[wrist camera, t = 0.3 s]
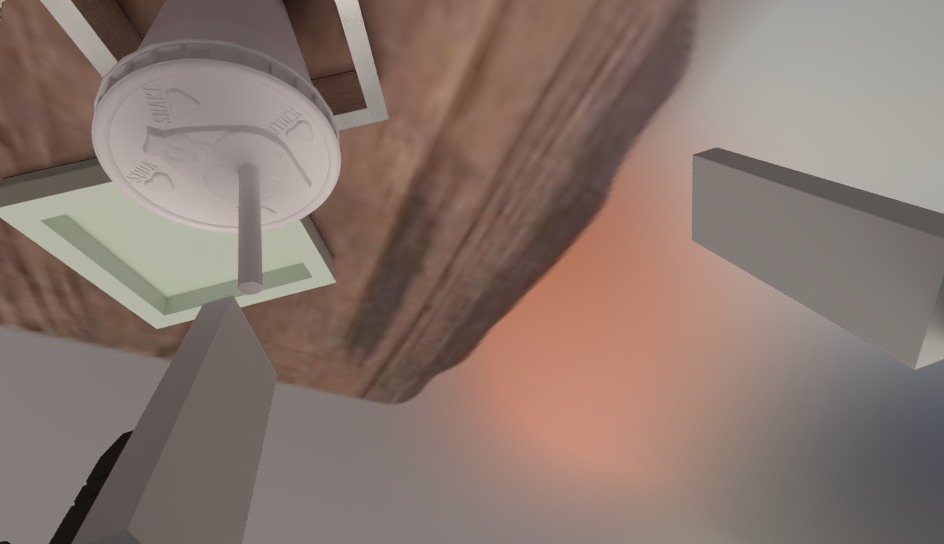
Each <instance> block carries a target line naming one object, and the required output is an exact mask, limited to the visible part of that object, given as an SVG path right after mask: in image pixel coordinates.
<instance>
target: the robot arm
mask: <svg viewBox="0 0 944 544" xmlns="http://www.w3.org/2000/svg"><path fill="white" fill-rule="evenodd" d="M692 196H693V198H692V200H693V201H692V240H693V241H695V242H696V243H698V244H700V245H702V246H703V247H705V248H707V249H708V250H710V251H712V252H713V253H715V254H717V255H719V256H720V257H722V258H724V259H725V260H727V261H729V262H731V263H732V264H734V265H736V266H738V267H739V268H741V269H743V270H744V271H746V272H748V273H750V274H751V275H753V276H755V277H756V278H758V279H760V280H762V281H763V282H765V283H767V284H768V285H770V286H772V287H774V288H775V289H777V290H779V291H780V292H782V293H784V294H786V295H787V296H789V297H791V298H793V299H794V300H796V301H798V302H799V303H801V304H803V305H804V306H806V307H808V308H810V309H811V310H813V311H815V312H817V313H818V314H820V315H822V316H824V317H825V318H827V319H828V320H830V321H832V322H834V323H835V324H837V325H839V326H840V327H842V328H844V329H846V330H847V331H849V332H851V333H852V334H854V335H856V336H858V337H859V338H861V339H863V340H864V341H866V342H868V343H870V344H871V345H873V346H875V347H877V348H878V349H880V350H882V351H883V352H885V353H887V354H888V355H890V356H892V357H894V358H895V359H897V360H899V361H900V362H902V363H904V364H906V365H907V366H909V367H911V368H913V369H914V370H915V369H918V368H921V367H923V366H926V365H929V364H931V363H934V362H936V361H939V360H942V359H944V214H942V213H939V212H936V211H932V210H928V209H925V208H922V207H918V206H915V205H912V204H908V203H905V202H901V201H898V200H895V199H891V198H888V197H884V196H881V195H878V194H874V193H870V192H867V191H864V190H860V189H857V188H854V187H850V186H846V185H843V184H840V183H836V182H833V181H830V180H826V179H823V178H819V177H816V176H813V175H809V174H806V173H802V172H799V171H795V170H792V169H789V168H785V167H782V166H778V165H775V164H771V163H768V162H765V161H761V160H758V159H754V158H751V157H748V156H744V155H740V154H737V153H734V152H731V151H727V150H724V149H720V148H713V149H710V150H707V151H704V152H701V153H697V154H694V155H693V194H692ZM276 380H277V373H276V371H275V369H274V368H273V366H272V364H271V362H270V360H269V359H268V357H267V355H266V353H265V351H264V350H263V348H262V346H261V344H260V342H259V341H258V339H257V337H256V335H255V333H254V332H253V330H252V328H251V326H250V325H249V323H248V321H247V319H246V317H245V316H244V314H243V312H242V310H241V308H240V307H239V305H238V303H237V301H236V299H235V298H234V296H233V295H231V296H228V297H225V298H221V299H218V300H215V301H212V302H208V303H205V304H203V305H202V307H201V309H200V311H199V312H198V314H197V316H196V318H195V320H194V322H193V323H192V325H191V327H190V329H189V331H188V332H187V334H186V336H185V338H184V340H183V342H182V343H181V345H180V347H179V349H178V351H177V352H176V354H175V356H174V358H173V360H172V362H171V363H170V365H169V367H168V369H167V371H166V372H165V374H164V376H163V378H162V380H161V382H160V383H159V385H158V387H157V389H156V391H155V392H154V394H153V396H152V398H151V400H150V402H149V403H148V405H147V407H146V409H145V411H144V412H143V414H142V416H141V418H140V420H139V422H138V424H137V425H136V427H135V429H134V430H133V431H130V432H127V433H124V434H122V435H121V436H120V437H119V438H118V439H117V440H116V442H115V443H114V444H113V445H112V446H111V447H110V448H109V449H108V450H107V451H106V452H105V453H104V454H103V455H102V456H101V457H100V459H99V460H98V462H97V464H96V465H95V467H94V469H93V471H92V473H91V474H90V476H89V477H88V479H87V481H86V482H87V485H85V486H83V487H82V489H81V491H80V492H79V494H78V496H77V497H76V499H75V501H74V502H75V505H74V506H72V507H71V508H70V509H69V511H68V513H67V514H66V516H65V518H64V519H63V521H62V523H61V524H60V526H59V528H58V529H57V531H56V533H55V535H54V537H53V538H52V540H51V541H50V543H49V544H242V541H243V536H244V531H245V527H246V522H247V517H248V512H249V508H250V503H251V498H252V494H253V489H254V484H255V479H256V474H257V470H258V465H259V460H260V456H261V451H262V446H263V442H264V437H265V431H266V427H267V422H268V418H269V413H270V408H271V404H272V399H273V394H274V389H275V385H276ZM0 544H10V543H9V542H7V541H3V542H0Z"/></svg>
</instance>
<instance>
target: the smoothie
mask: <svg viewBox="0 0 944 544" xmlns="http://www.w3.org/2000/svg"><path fill="white" fill-rule="evenodd" d="M92 141H93V146H94V150H95V153H96V156H97V158H98V160H99V162H100V164H101V166H102V168H103V169H104V171H105V172H106V174H107V175H108V176H109V178H110V179H111V180H112V181H113V182H114V184H115V185H116V186H117V187H118V188H119V189H120V190H121V191H122V192H124V193H125V194H126V195H127V196H128V197H130V198H131V199H132V200H133V201H135V202H136V203H138V204H139V205H141V206H142V207H144V208H146V209H147V210H149V211H151V212H153V213H155V214H157V215H159V216H161V217H163V218H165V219H168V220H170V221H173V222H176V223H179V224H181V225H184V226H188V227H192V228H196V229H200V230H205V231H213V232H221V233H238V291H239V292H240V293H242V294H245V295H255V294H258V293H260V292H261V291H262V290H263V280H262V240H261V232H262V231H267V230H271V229H275V228H280V227H283V226H285V225H288V224H291V223H293V222H296V221H298V220H300V219H302V218H303V217H305V216H307V215H308V214H310V213H312V212H313V211H314V210H315V209H317V208H318V207H319V206H320V205H321V204H322V203H323V202H324V201H325V200H326V199H327V198H328V196H329V195H330V193H331V192H332V190H333V189H334V187H335V185H336V182H337V179H338V177H339V172H340V165H341V157H340V149H339V131H338V128H337V125H336V122H335V119H334V116H333V113H332V111H331V109H330V108H329V106H328V105H327V103H326V102H325V100H324V99H323V97H322V96H321V94H320V93H319V92H318V90H317V89H316V88H315V87H314V86H313V84H312V82H311V79H310V76H309V73H308V70H307V68H306V65H305V62H304V59H303V56H302V54H301V51H300V48H299V45H298V42H297V39H296V37H295V34H294V31H293V28H292V25H291V23H290V20H289V17H288V14H287V11H286V8H285V6H284V3H283V0H165V2H164V4H163V6H162V7H161V9H160V11H159V13H158V14H157V16H156V18H155V20H154V22H153V23H152V25H151V27H150V29H149V30H148V32H147V34H146V36H145V38H144V39H143V41H142V43H141V45H140V46H139V48H138V49H137V51H135V52H133V53H131V54H129V55H127V56H125V57H123V58H122V59H121V60H120V61H119V62H118V63H117V64H116V65H115V66H114V67H113V68H112V69H111V70H110V71H109V72H108V73H107V74H106V75H105V76H104V77H103V78H102V81H101V84H100V87H99V89H98V92H97V95H96V98H95V101H94V117H93V122H92Z"/></svg>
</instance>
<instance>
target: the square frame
mask: <svg viewBox="0 0 944 544" xmlns="http://www.w3.org/2000/svg"><path fill="white" fill-rule="evenodd" d="M41 2H42V3H43V4H44V5H45V7H46V8H47V9H48V10H49V12H50V13H51V14H52V15H53V16H54V18H55V19H56V20H57V21H58V23H59V24H60V25H61V26H62V28H63V29H64V30H65V31H66V33H67V34H68V35H69V36H70V37H71V39H72V40H73V41H74V42H75V44H76V45H77V46H78V47H79V49H80V50H81V51H82V52H83V54H84V55H85V56H86V57H87V58H88V60H89V61H90V62H91V63H92V65H93V66H94V67H95V68H96V70H97V71H98V72H99V73H100V75H101V76H102V77H104V76H105V75H106V74H107V73H108V72H109V71H110V70H111V69H112V68H113V67H114V66H115V65H116V64H117V63H118V62H119V61H120V60H121V59H122V58H123V57H125V56H127V55H129V54H131V53H133V52H135V51H137V49H138V48H139V46H140V45H141V43H142V41H143V39H142V38H141V36H140V35H139V34H138V32H137V31H136V29H135V28H134V26H133V25H132V23H131V22H130V20H129V19H128V17H127V16H126V14H125V13H124V11H123V10H122V9H121V7H120V6H119V4H118V3H117V1H116V0H41ZM335 2H336V6H337V9H338V12H339V16H340V19H341V22H342V26H343V29H344V32H345V36H346V39H347V42H348V45H349V49H350V52H351V55H352V59H353V62H354V65H355V69H356V71H352V72H348V73H343V74H339V75H334V76H329V77H325V78H320V79H316V80H311V82H312V84H313V86H314V87H315V88H316V89H317V90H318V92H319V93H320V94H321V96H322V97H323V99H324V100H325V102H326V103H327V105H328V106H329V108H330V109H331V111H332V113H333V116H334V119H335V122H336V125H337V128H338V131H339V130H343V129H347V128H352V127H356V126H360V125H365V124H369V123H373V122H378V121H382V120H386V119H389V117H388V113H387V110H386V106H385V102H384V98H383V94H382V90H381V87H380V83H379V79H378V75H377V71H376V68H375V64H374V60H373V56H372V52H371V49H370V45H369V41H368V37H367V33H366V29H365V26H364V22H363V18H362V14H361V10H360V7H359V3H358V0H335Z"/></svg>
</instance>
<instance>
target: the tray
mask: <svg viewBox="0 0 944 544" xmlns="http://www.w3.org/2000/svg"><path fill="white" fill-rule="evenodd" d="M0 217H1V218H2V219H3V220H5V221H6V222H8V223H9V224H10V225H12V226H13V227H15V228H16V229H17V230H19V231H20V232H22V233H23V234H24V235H26V236H27V237H29V238H30V239H31V240H33V241H34V242H36V243H37V244H38V245H40V246H41V247H43V248H44V249H45V250H47V251H48V252H50V253H51V254H52V255H54V256H55V257H57V258H58V259H60V260H61V261H62V262H64V263H65V264H67V265H68V266H69V267H71V268H72V269H74V270H75V271H76V272H78V273H79V274H81V275H82V276H83V277H85V278H86V279H88V280H89V281H90V282H92V283H93V284H95V285H96V286H97V287H99V288H100V289H102V290H103V291H104V292H106V293H107V294H109V295H110V296H111V297H113V298H114V299H116V300H117V301H119V302H120V303H121V304H123V305H124V306H126V307H127V308H128V309H130V310H131V311H133V312H134V313H135V314H137V315H138V316H140V317H141V318H142V319H144V320H145V321H147V322H148V323H149V324H151V325H152V326H154V327H155V328H156V329H159V328H163V327H167V326H170V325H174V324H178V323H182V322H186V321H190V320H193V319H195V318H196V316H197V314H198V312H199V311H200V309H201V307H202V305H203V304H205V303H208V302H212V301H215V300H218V299H221V298H225V297H228V296H231V295H233V296H234V298H235V299H236V301H237V303H238V305H239V307H244V306H247V305H251V304H255V303H259V302H263V301H267V300H270V299H274V298H278V297H282V296H286V295H290V294H294V293H297V292H301V291H305V290H309V289H313V288H317V287H320V286H324V285H328V284H332V283H336V276H335V268H334V261H333V258H332V256H331V254H330V253H329V251H328V249H327V247H326V245H325V243H324V242H323V240H322V238H321V236H320V234H319V233H318V231H317V229H316V227H315V225H314V223H313V222H312V220H311V218H310V216H309V214H308V215H307V216H305V217H303V218H302V219H300V220H298V221H296V222H293V223H291V224H288V225H285V226H283V227H280V228H275V229H271V230H267V231H262V232H261V240H262V280H263V290H262V291H261V292H260V293H258V294H255V295H245V294H242V293H240V292H239V291H238V233H221V232H213V231H205V230H200V229H196V228H192V227H188V226H184V225H181V224H179V223H176V222H173V221H170V220H168V219H165V218H163V217H161V216H159V215H157V214H155V213H153V212H151V211H149V210H147V209H146V208H144V207H142V206H141V205H139V204H138V203H136V202H135V201H133V200H132V199H131V198H130V197H128V196H127V195H126V194H125V193H124V192H122V191H121V190H120V189H119V188H118V187H117V186H116V185H115V184H114V182H113V181H112V180H111V179H110V178H109V176H108V175H107V174H106V172H105V171H104V169H103V168H102V166H101V164H100V162H99V160H98V158H94V159H89V160H85V161H80V162H76V163H72V164H67V165H63V166H58V167H54V168H49V169H45V170H40V171H36V172H32V173H27V174H23V175H18V176H14V177H9V178H5V179H2V181H1V184H0Z"/></svg>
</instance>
